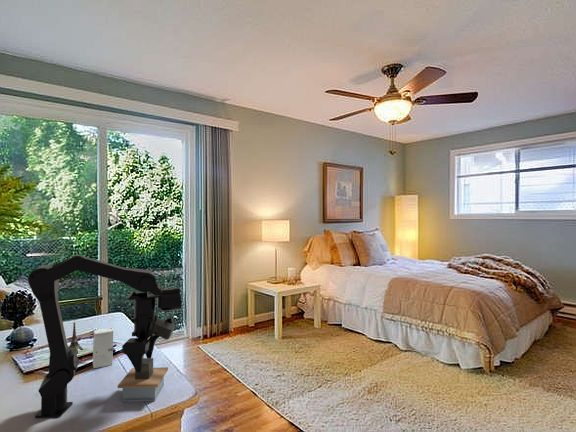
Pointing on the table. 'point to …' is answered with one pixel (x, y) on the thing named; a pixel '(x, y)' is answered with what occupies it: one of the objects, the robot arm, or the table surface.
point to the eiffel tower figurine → (74, 340)
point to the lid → (144, 376)
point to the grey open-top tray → (142, 393)
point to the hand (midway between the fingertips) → (144, 365)
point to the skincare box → (102, 347)
